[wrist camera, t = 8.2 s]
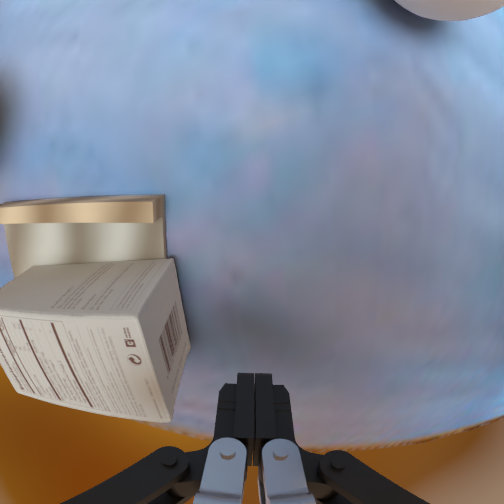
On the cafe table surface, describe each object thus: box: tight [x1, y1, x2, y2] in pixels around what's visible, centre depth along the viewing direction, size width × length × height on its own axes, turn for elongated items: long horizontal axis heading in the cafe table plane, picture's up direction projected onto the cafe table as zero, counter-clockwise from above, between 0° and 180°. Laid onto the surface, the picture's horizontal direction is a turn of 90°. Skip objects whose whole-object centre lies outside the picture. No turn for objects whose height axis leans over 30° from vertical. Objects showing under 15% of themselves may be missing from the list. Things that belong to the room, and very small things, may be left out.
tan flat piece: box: [0, 195, 167, 278], centre depth 18 cm, size 14×14×2 cm
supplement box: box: [0, 258, 191, 423], centre depth 16 cm, size 7×7×13 cm
